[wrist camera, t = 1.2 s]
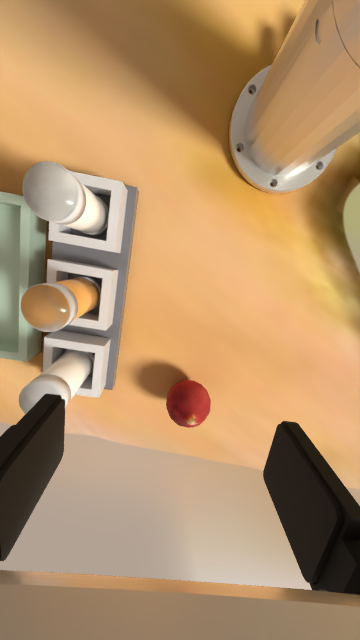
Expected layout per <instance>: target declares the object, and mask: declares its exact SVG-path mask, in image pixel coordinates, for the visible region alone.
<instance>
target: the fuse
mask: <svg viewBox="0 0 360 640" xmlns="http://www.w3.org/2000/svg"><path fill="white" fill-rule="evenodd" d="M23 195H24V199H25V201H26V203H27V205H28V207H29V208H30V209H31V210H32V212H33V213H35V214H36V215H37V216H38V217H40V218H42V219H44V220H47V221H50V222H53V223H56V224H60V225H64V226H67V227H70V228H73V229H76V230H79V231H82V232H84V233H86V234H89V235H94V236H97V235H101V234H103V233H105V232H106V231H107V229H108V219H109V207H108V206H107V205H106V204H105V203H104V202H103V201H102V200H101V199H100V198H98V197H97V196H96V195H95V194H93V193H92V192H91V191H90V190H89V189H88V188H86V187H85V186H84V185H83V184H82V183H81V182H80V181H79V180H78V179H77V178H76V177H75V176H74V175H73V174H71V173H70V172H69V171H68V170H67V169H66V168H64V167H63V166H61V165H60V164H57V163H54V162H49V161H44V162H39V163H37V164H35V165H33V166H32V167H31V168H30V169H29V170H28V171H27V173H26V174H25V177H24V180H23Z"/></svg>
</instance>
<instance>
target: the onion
mask: <svg viewBox="0 0 360 640" xmlns="http://www.w3.org/2000/svg"><path fill="white" fill-rule="evenodd" d="M166 406H167V410H168V413H169V416H170V417H171V419H172V420H173V421H174V422H175V423H176V424H178V425H179V426H184V427H195V426H198V425H200V424H201V423H202V422H203V421H204V420H205V419H206V417H207V416H208V414H209V412H210V397H209V395H208V392H207V390H206V389H205V388H204V387H203V386H202V385H201V384H199V383H197V382H195V381H190V380H185V381H181V382H178V383H177V384H176V385H174V386H173V387H172V388H171V390H170V391H169V393H168V396H167V402H166Z"/></svg>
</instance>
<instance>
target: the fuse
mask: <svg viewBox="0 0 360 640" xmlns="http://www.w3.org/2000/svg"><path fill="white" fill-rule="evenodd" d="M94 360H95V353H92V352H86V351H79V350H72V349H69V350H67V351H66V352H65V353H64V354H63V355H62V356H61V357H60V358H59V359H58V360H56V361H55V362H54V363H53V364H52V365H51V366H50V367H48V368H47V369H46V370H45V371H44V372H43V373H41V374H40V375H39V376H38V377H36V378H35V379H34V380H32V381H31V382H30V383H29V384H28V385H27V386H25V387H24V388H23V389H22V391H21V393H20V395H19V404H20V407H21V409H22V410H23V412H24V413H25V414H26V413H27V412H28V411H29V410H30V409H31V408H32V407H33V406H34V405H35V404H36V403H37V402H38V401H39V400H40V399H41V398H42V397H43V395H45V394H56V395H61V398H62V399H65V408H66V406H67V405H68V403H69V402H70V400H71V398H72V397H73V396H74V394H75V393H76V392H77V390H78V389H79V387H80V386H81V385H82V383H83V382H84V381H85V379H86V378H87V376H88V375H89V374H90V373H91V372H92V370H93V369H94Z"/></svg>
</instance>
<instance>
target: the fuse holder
mask: <svg viewBox="0 0 360 640" xmlns="http://www.w3.org/2000/svg"><path fill="white" fill-rule="evenodd" d="M69 172H70V173H71V174H73V175H74V176H75V177H76V178H77V179H78V180H79V181H80V182H81V183H82V184H83V185H84V186H85V187H86V188H88V189H89V190H90V191H91V192H92V193H93V194H95V195H96V196H97V197H98V198H100V199H101V200H102V201H103V202H104V203H105V204H106V205H107V206H108V207H109V219H108V229H107V231H106V232H105V233H103V234H101V235H97V236H94V235H89V234H86V233H84V232H82V231H79V230H76V229H73V228H70V227H67V226H64V225H60V224H56V223H53V222H50V221H49V239H48V240H50V241H53V245H52V259H48V262H47V283H49V282H58V281H64V280H69V279H74V278H78V277H84V276H88V277H92V278H94V279H96V280H97V281H98V282H99V283H100V284H101V286H102V289H101V300H100V305H99V306H97V307H96V308H94V309H92V310H90V311H88V312H87V313H85V314H83V315H82V316H80V317H78V318H77V319H75V320H73V321H72V322H71V323H69V324H68V325H66V326H65V327H63V328H61V329H60V330H57V331H54V332H48V335H47V336H46V337H44V354H43V372H44V371H45V370H46V369H47V368H48V367H50V366H51V365H52V364H53V363H54V362H55V361H56V360H58V359H59V358H60V357H61V356H62V355H63V354H64V353H65V352H66V351H67V350H69V349H72V350H79V351H86V352H92V353H95V360H94V369H93V370H92V372H91V373H90V374H89V375H88V376H87V378H86V379H85V381H84V382H83V383H82V385H81V386H80V387H79V389H78V390H77V392H76V393H75V394H74V395H82V396H89V397H96V398H99V397H100V395H101V393H102V391H103V389H110V390H112V389H113V387H114V385H115V378H116V370H117V362H118V354H119V346H120V338H121V330H122V322H123V314H124V306H125V298H126V290H127V282H128V274H129V266H130V258H131V250H132V241H133V233H134V225H135V217H136V209H137V201H138V193H139V191H138V189H137V187H132V186H127V185H124V184H123V182H121V181H116V180H111V179H106V178H102V177H97V176H92V175H87V174H82V173H78V172H73V171H69Z"/></svg>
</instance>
